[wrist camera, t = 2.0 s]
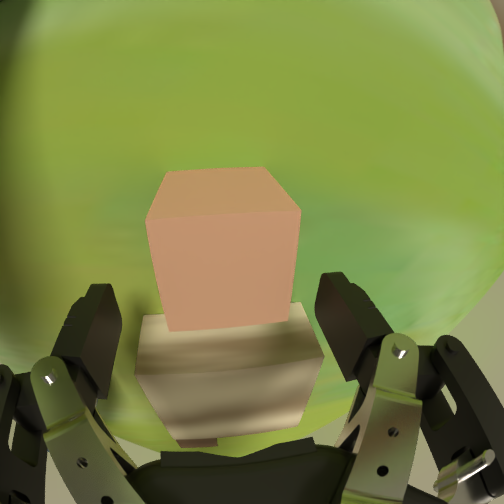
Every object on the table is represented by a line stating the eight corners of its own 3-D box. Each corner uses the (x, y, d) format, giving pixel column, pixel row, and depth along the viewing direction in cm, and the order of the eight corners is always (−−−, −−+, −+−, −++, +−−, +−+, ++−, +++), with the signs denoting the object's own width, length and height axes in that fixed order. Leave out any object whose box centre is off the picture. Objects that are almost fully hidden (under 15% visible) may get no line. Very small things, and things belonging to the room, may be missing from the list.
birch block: (143, 315, 18) (134, 374, 13) (300, 301, 19) (324, 356, 15) (173, 394, 23) (173, 439, 19) (284, 383, 25) (297, 426, 21)
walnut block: (172, 402, 24) (172, 436, 21) (210, 400, 25) (214, 434, 22) (179, 417, 26) (180, 447, 23) (214, 415, 27) (217, 446, 24)
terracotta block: (166, 171, 13) (145, 220, 8) (263, 166, 14) (301, 210, 9) (176, 255, 16) (169, 331, 11) (260, 249, 17) (287, 320, 11)
